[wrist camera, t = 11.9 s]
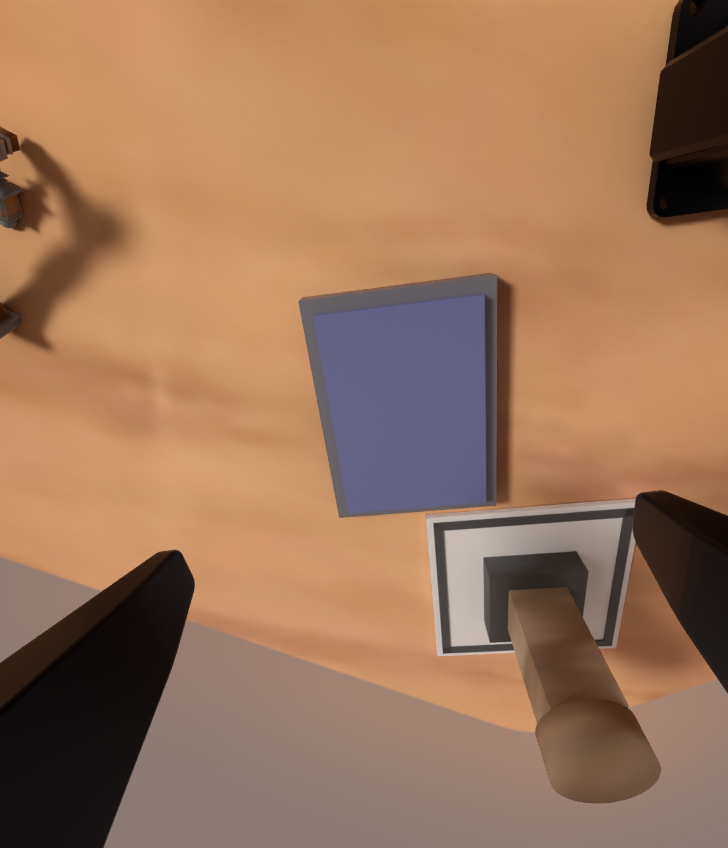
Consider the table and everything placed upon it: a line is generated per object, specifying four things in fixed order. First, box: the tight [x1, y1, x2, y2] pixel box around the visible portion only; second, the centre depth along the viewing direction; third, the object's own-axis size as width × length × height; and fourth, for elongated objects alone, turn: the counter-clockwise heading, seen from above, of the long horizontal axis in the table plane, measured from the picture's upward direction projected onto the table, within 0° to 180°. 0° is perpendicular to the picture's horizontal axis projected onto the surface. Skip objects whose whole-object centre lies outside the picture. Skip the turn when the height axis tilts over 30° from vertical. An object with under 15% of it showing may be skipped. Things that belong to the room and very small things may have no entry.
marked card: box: [426, 498, 636, 656], centre depth 24 cm, size 11×11×1 cm
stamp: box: [483, 551, 661, 803], centre depth 20 cm, size 5×5×9 cm
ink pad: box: [299, 273, 497, 518], centre depth 19 cm, size 8×11×2 cm
